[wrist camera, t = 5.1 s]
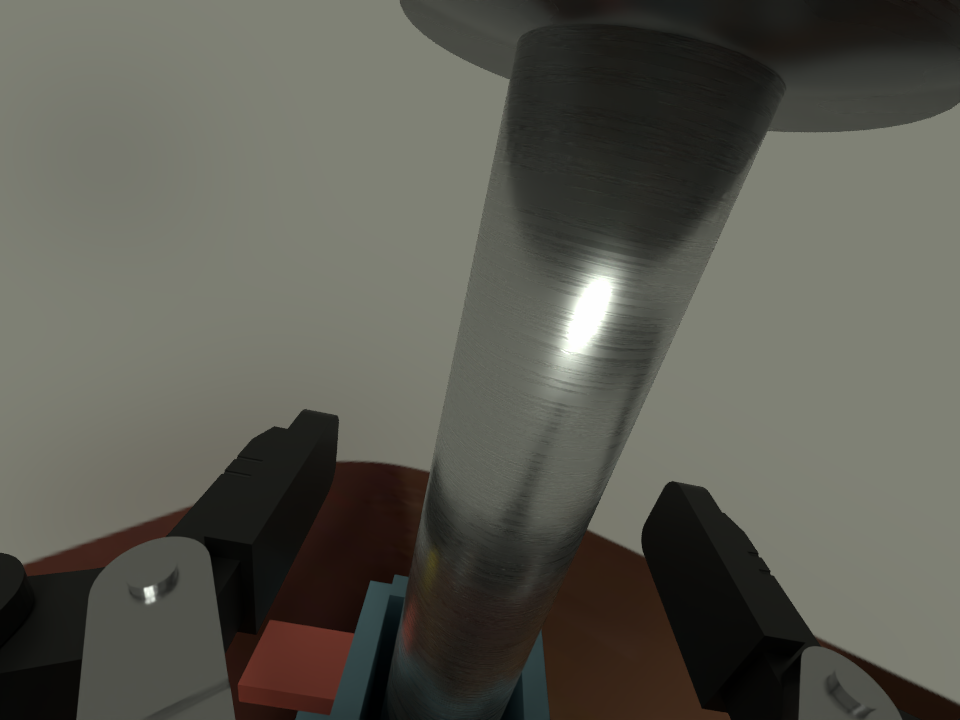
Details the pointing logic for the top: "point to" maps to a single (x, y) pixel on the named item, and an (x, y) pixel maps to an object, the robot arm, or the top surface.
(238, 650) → the top surface
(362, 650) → the stand base
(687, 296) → the column
